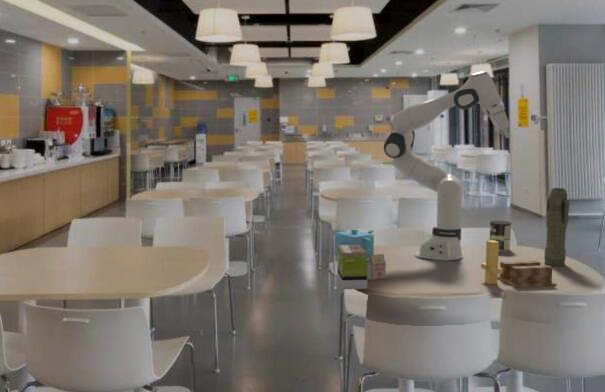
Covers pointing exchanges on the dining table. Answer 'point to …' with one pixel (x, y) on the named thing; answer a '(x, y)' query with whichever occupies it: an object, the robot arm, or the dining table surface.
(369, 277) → the pink milk carton
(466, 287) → the dining table surface
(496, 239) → the coffee can
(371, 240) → the teakettle
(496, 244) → the yellow tall bar
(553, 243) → the thermos
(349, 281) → the tea box
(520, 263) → the rack
